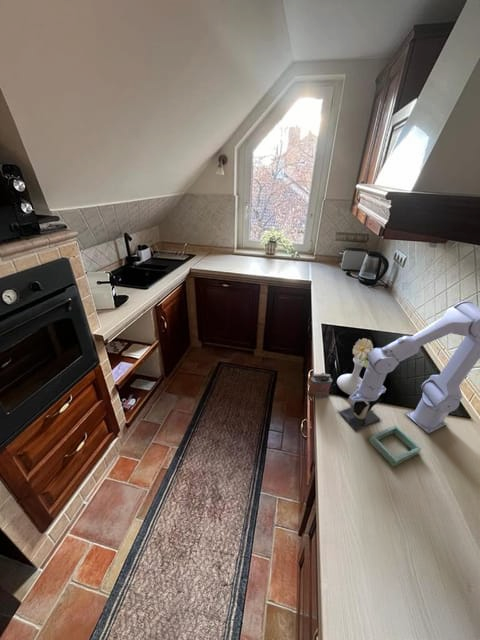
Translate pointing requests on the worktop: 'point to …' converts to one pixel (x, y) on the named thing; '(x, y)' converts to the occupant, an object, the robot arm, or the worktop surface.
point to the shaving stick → (363, 411)
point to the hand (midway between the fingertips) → (360, 411)
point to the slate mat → (357, 422)
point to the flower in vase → (356, 367)
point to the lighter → (319, 385)
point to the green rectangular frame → (386, 453)
